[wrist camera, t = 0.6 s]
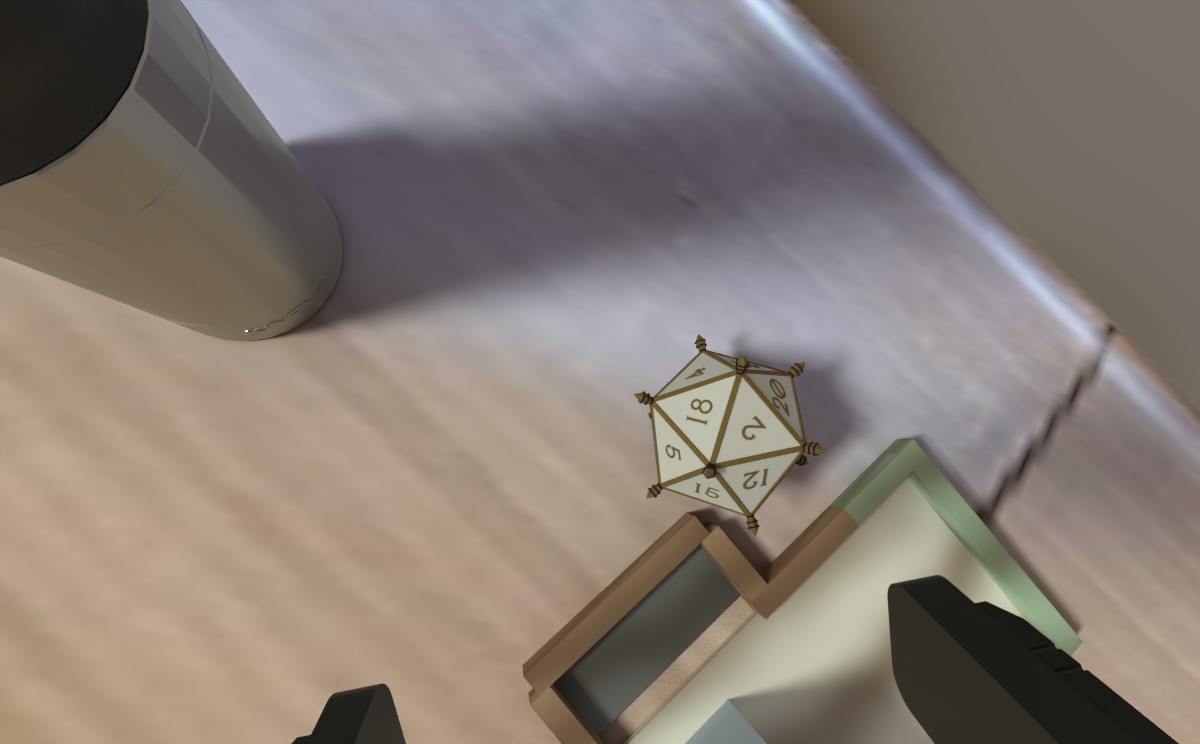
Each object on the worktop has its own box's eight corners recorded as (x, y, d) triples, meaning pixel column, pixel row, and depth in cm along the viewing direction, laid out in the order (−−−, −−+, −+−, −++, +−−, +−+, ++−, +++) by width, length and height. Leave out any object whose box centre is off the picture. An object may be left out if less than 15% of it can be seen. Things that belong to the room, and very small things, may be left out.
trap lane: (418, 762, 29) (413, 779, 27) (839, 370, 35) (853, 367, 33) (749, 1159, 29) (762, 1197, 27) (1115, 701, 35) (1142, 713, 33)
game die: (661, 406, 37) (677, 272, 29) (804, 449, 34) (859, 316, 27) (607, 531, 31) (610, 402, 24) (774, 592, 29) (834, 470, 21)
